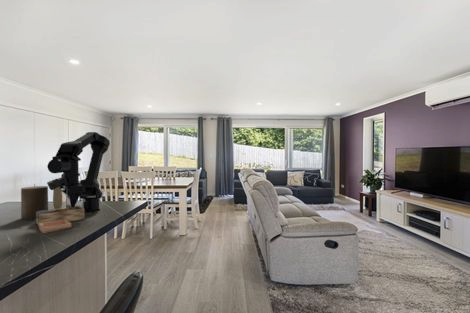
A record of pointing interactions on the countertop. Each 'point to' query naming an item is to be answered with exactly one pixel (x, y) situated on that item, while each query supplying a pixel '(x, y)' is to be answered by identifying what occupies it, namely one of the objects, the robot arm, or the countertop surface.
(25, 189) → the pillar candle
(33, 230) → the countertop surface
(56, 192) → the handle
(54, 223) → the rack tray
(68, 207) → the grey tall cylinder
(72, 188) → the robot arm
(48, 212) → the grey rectangular metal block
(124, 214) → the countertop surface
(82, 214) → the socket block
